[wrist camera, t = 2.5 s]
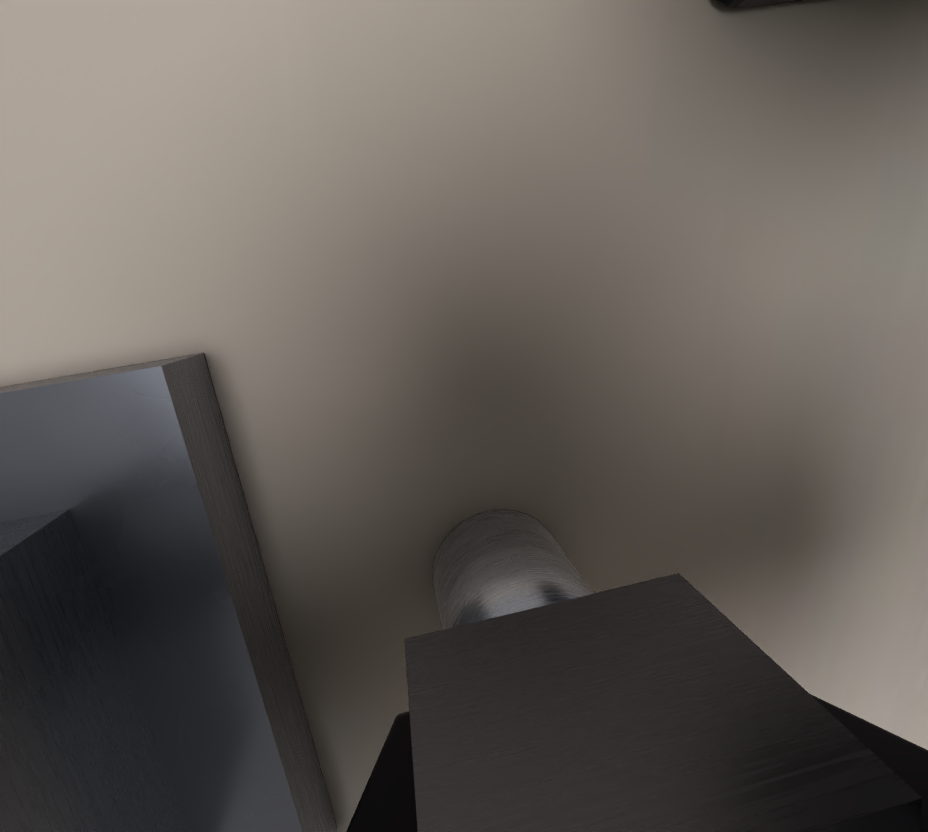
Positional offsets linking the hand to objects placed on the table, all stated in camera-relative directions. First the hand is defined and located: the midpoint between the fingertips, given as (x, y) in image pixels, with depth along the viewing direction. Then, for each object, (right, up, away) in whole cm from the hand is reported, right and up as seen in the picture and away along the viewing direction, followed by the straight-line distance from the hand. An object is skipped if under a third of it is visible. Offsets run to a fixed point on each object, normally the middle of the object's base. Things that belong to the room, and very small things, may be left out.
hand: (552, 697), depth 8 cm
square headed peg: (-1, +1, +4) cm, 4 cm away
